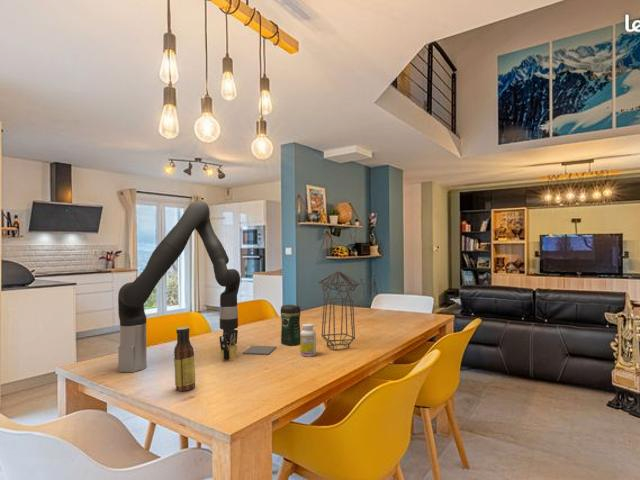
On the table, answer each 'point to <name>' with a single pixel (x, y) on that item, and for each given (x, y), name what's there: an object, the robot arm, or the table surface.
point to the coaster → (259, 350)
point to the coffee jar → (290, 325)
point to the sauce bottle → (184, 361)
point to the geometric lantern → (342, 306)
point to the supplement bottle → (308, 340)
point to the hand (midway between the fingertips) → (229, 357)
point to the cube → (230, 353)
